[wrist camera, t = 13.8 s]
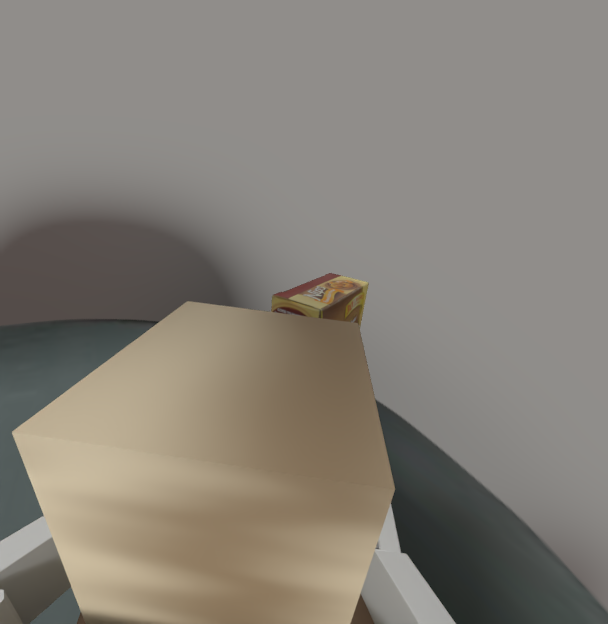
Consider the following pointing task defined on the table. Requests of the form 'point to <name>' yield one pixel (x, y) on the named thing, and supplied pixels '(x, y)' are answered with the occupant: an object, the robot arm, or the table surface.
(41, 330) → the table surface
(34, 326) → the table surface
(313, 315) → the candy box
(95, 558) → the maple block
